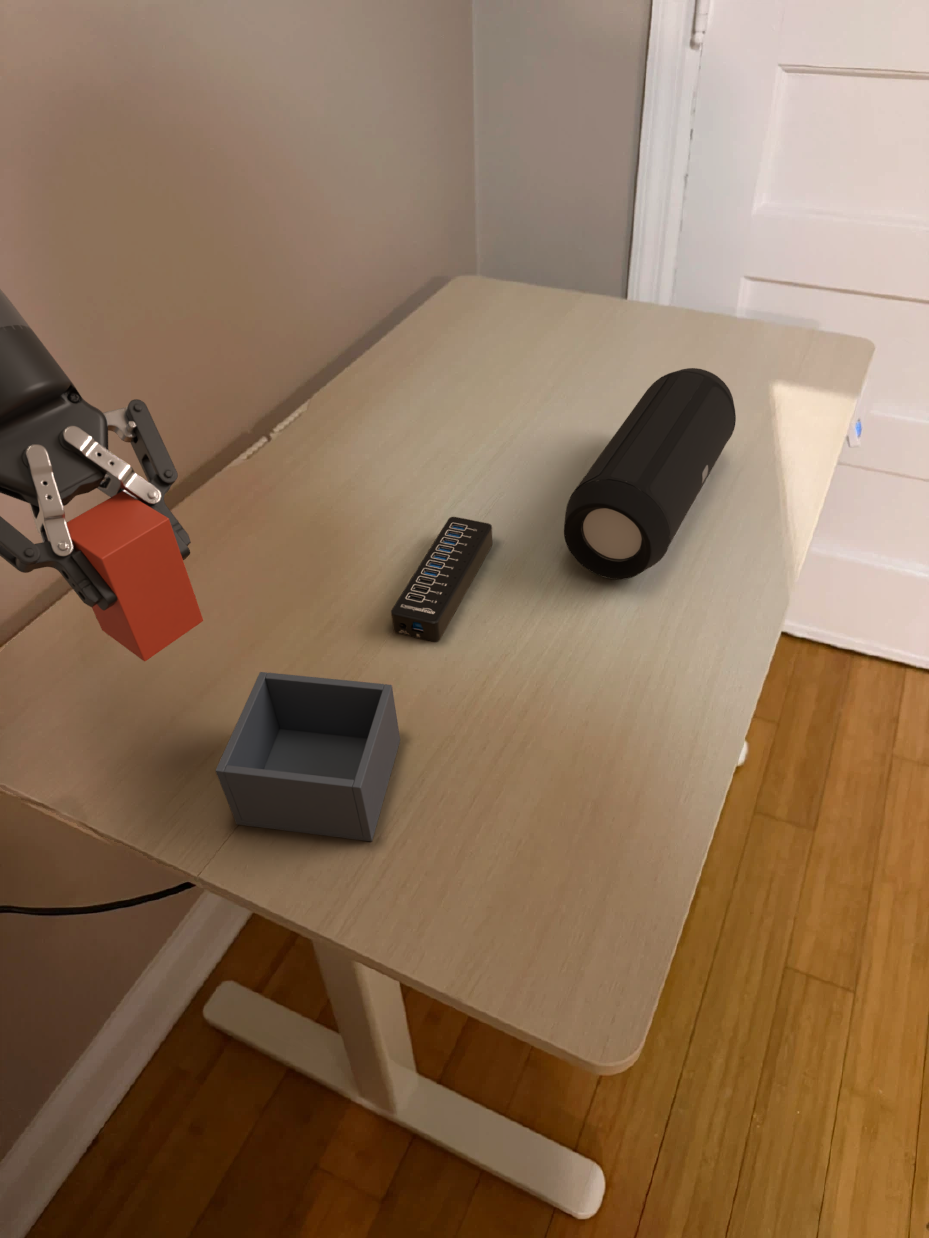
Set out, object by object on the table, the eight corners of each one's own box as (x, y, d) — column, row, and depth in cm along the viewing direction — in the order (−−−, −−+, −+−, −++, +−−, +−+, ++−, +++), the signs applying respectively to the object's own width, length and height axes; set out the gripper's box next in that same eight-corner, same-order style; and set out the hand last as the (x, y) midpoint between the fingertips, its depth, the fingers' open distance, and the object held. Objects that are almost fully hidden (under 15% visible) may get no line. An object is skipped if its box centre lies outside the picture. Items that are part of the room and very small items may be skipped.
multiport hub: (493, 542, 87) (493, 523, 85) (438, 642, 77) (436, 623, 75) (451, 533, 88) (450, 515, 86) (391, 631, 78) (389, 612, 77)
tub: (236, 824, 65) (214, 770, 60) (276, 726, 71) (259, 671, 67) (372, 841, 63) (360, 787, 59) (400, 739, 70) (392, 684, 65)
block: (101, 630, 62) (55, 528, 55) (160, 591, 64) (122, 490, 58) (144, 662, 59) (101, 559, 53) (204, 621, 62) (169, 517, 56)
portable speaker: (654, 601, 80) (667, 511, 73) (552, 570, 83) (555, 482, 76) (733, 455, 96) (750, 370, 89) (645, 434, 99) (654, 351, 92)
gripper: (-144, 379, 48) (58, 632, 50) (86, 285, 56) (252, 509, 58) (-138, 432, 54) (42, 655, 57) (68, 342, 62) (219, 542, 64)
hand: (147, 580), depth 57 cm, fingers closed on block, 5 cm apart
